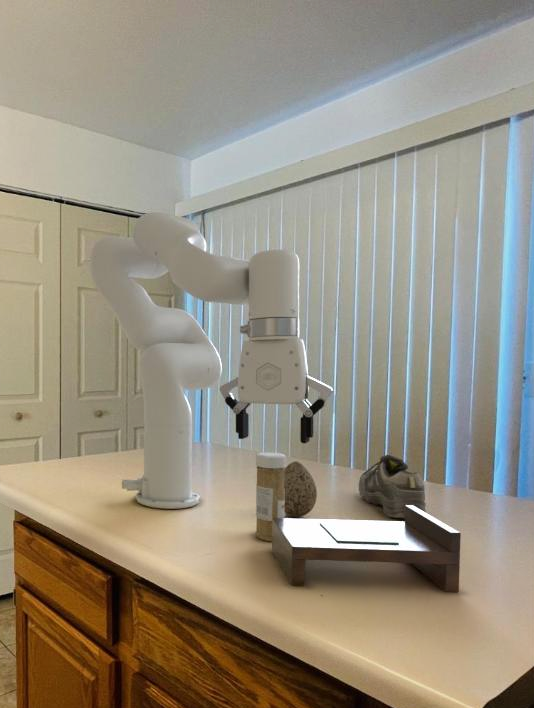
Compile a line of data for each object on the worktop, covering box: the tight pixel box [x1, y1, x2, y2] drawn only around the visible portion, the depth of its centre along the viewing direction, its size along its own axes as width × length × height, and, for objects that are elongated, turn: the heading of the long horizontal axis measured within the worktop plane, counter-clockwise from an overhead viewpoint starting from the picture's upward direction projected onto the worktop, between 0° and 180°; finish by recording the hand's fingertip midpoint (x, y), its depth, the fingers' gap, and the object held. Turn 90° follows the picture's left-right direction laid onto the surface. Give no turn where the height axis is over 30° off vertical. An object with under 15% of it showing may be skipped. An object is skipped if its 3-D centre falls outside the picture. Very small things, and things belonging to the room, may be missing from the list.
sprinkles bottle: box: [255, 451, 287, 542], centre depth 83 cm, size 5×5×13 cm
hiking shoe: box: [358, 454, 427, 519], centre depth 101 cm, size 9×21×12 cm
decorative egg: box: [284, 461, 318, 518], centre depth 95 cm, size 7×7×10 cm
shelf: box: [270, 505, 462, 593], centre depth 71 cm, size 20×12×7 cm, turn 85°
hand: (273, 440), depth 82 cm, fingers open, 9 cm apart
